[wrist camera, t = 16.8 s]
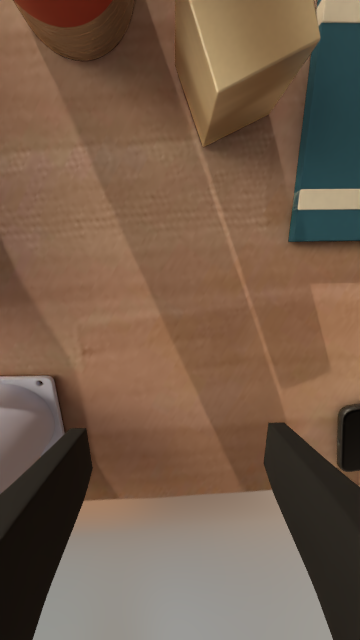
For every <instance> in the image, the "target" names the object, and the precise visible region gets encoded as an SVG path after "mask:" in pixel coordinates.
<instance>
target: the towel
mask: <svg viewBox="0 0 360 640" xmlns="http://www.w3.org/2000/svg"><path fill="white" fill-rule="evenodd" d="M316 16H317V21H318V27H319V32H320V41H319V42H318V44H317V45H316V47H315V48H314V50H313V51H312V53H311V59H310V68H309V76H308V84H307V92H306V101H305V109H304V117H303V125H302V133H301V142H300V150H299V158H298V166H297V175H296V183H295V191H294V199H293V207H292V216H291V224H290V232H289V240H288V241H289V242H315V241H360V0H318V2H317V10H316Z"/></svg>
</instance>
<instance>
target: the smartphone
mask: <svg viewBox="0 0 360 640" xmlns="http://www.w3.org/2000/svg"><path fill="white" fill-rule="evenodd" d="M337 464H338V466H339V467H340V469H342V470H343V471H346V472H353V471H359V470H360V404H354V405H349V406H346V407H344V408H342V409H341V410H340V411H339V414H338V434H337Z"/></svg>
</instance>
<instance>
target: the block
mask: <svg viewBox="0 0 360 640" xmlns="http://www.w3.org/2000/svg"><path fill="white" fill-rule="evenodd" d="M319 41H320V32H319V27H318V21H317V16H316V10H315V5H314V0H175V67H176V70H177V73H178V76H179V79H180V81H181V84H182V87H183V90H184V93H185V96H186V99H187V102H188V105H189V108H190V111H191V114H192V116H193V119H194V122H195V125H196V128H197V131H198V134H199V137H200V140H201V143H202V146H203V147H205V146H207V145H209V144H211V143H213V142H215V141H217V140H219V139H221V138H223V137H225V136H227V135H229V134H231V133H233V132H235V131H237V130H239V129H241V128H243V127H245V126H247V125H249V124H251V123H253V122H255V121H257V120H259V119H261V118H263V117H265V116H267V115H269V114H270V112H271V111H272V110H273V108H274V107H275V105H276V104H277V102H278V101H279V99H280V98H281V96H282V95H283V94H284V92H285V91H286V89H287V88H288V86H289V85H290V83H291V82H292V80H293V79H294V77H295V76H296V75H297V73H298V72H299V70H300V69H301V67H302V66H303V64H304V63H305V61H306V60H307V58H308V57H309V56H310V54H311V53H312V51H313V50H314V48H315V47H316V45H317V44H318V42H319Z"/></svg>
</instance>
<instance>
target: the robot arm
mask: <svg viewBox="0 0 360 640" xmlns="http://www.w3.org/2000/svg"><path fill="white" fill-rule="evenodd" d="M39 381H41V382H42V383H43V384H42V383H40V382H39ZM39 457H40V458H39ZM38 458H39V459H38ZM264 466H265V469H266V472H267V475H268V478H269V482H270V484H271V487H272V490H273V493H274V495H275V498H276V500H277V502H278V505H279V507H280V510H281V512H282V514H283V517H284V519H285V521H286V523H287V526H288V528H289V530H290V533H291V535H292V537H293V539H294V542H295V544H296V546H297V549H298V551H299V553H300V555H301V558H302V560H303V562H304V565H305V567H306V569H307V571H308V574H309V576H310V579H311V581H312V584H313V586H314V589H315V591H316V593H317V596H318V599H319V601H320V604H321V607H322V610H323V613H324V615H325V618H326V621H327V624H328V627H329V629H330V632H331V635H332V638H333V640H360V487H359V486H357V485H356V484H355V483H354V482H352V481H351V480H350V479H349V478H348V477H346V476H345V475H344V474H343V473H342V472H340V471H339V470H338V469H337V468H336V467H334V466H333V465H332V464H331V463H330V462H328V461H327V460H326V459H325V458H324V457H323V456H322V455H320V454H319V453H318V452H317V451H316V450H315V449H313V448H312V447H311V446H310V445H309V444H308V443H307V442H306V441H304V440H303V439H302V438H301V437H300V436H299V435H298V434H297V433H295V432H294V431H293V430H292V429H291V428H290V427H289V426H287V425H286V424H285V423H269V424H268V432H267V440H266V448H265V456H264ZM92 469H93V467H92V461H91V454H90V448H89V442H88V436H87V430H86V428H72V429H70V430H68V431H67V432H66V433H65V432H64V427H63V422H62V417H61V412H60V407H59V402H58V397H57V392H56V387H55V382H54V379H53V378H52V377H51V376H47V375H44V376H1V377H0V640H32V639H33V636H34V633H35V630H36V627H37V624H38V621H39V618H40V615H41V611H42V608H43V605H44V602H45V600H46V596H47V594H48V591H49V588H50V586H51V583H52V580H53V578H54V575H55V573H56V570H57V568H58V565H59V563H60V560H61V558H62V555H63V552H64V550H65V547H66V545H67V542H68V540H69V537H70V534H71V532H72V530H73V527H74V524H75V522H76V519H77V516H78V514H79V511H80V509H81V506H82V504H83V501H84V498H85V495H86V491H87V488H88V484H89V480H90V477H91V473H92Z"/></svg>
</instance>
